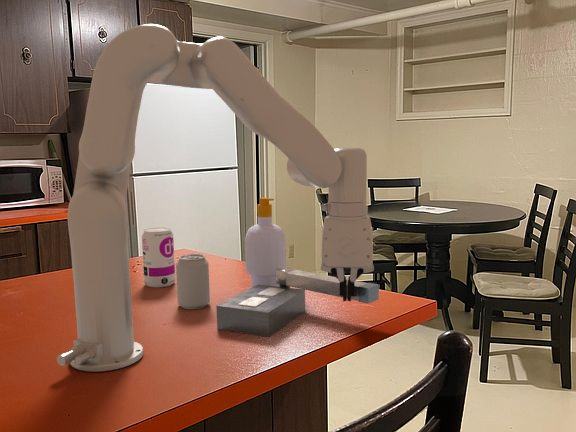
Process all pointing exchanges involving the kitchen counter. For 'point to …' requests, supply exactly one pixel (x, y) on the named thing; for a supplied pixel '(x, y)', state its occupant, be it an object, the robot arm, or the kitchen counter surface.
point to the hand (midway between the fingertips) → (347, 299)
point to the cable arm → (325, 284)
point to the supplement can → (158, 257)
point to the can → (192, 281)
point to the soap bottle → (264, 247)
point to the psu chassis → (261, 310)
